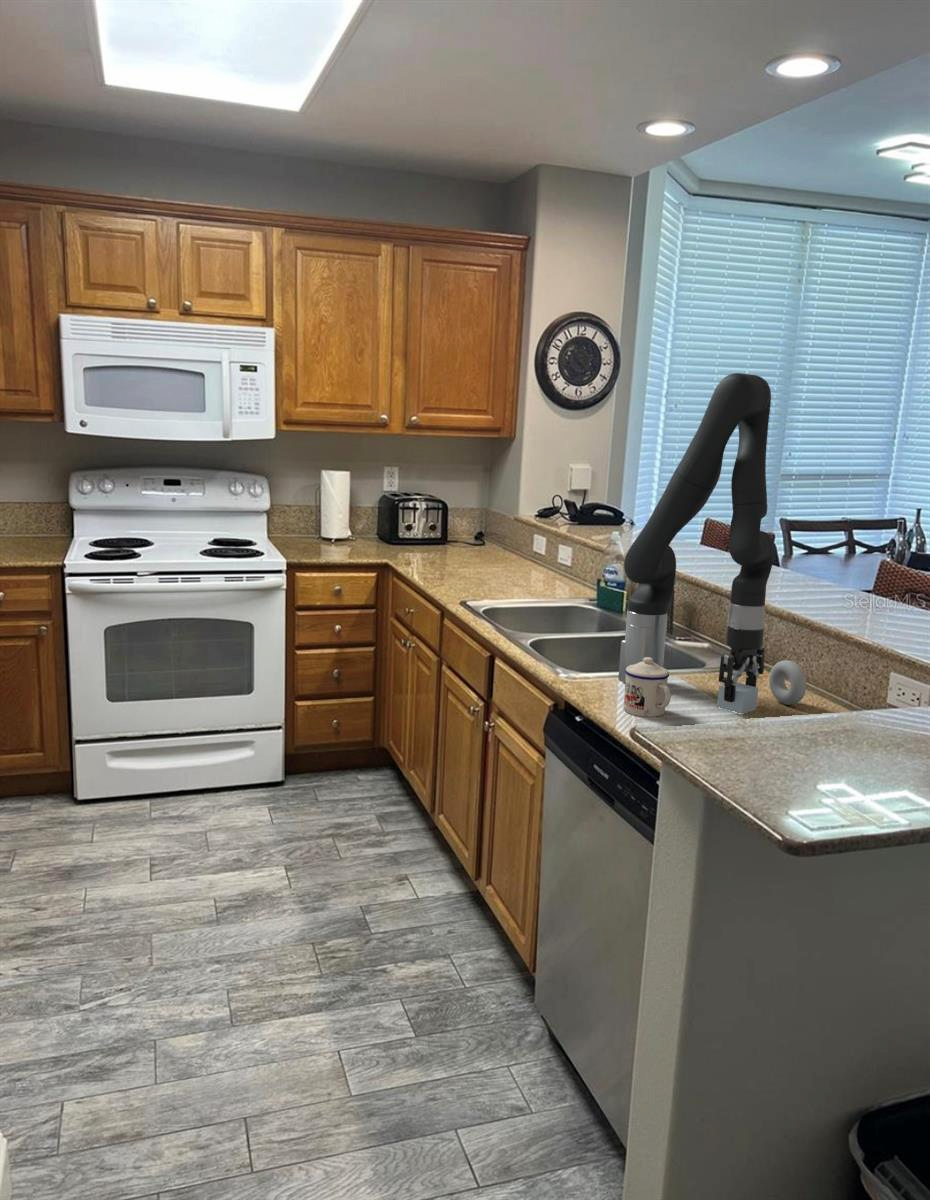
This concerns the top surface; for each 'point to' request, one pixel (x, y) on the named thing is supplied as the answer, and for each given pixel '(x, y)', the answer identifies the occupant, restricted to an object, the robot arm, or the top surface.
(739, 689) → the gray block
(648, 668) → the teacup with lid
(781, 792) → the top surface
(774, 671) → the donut
